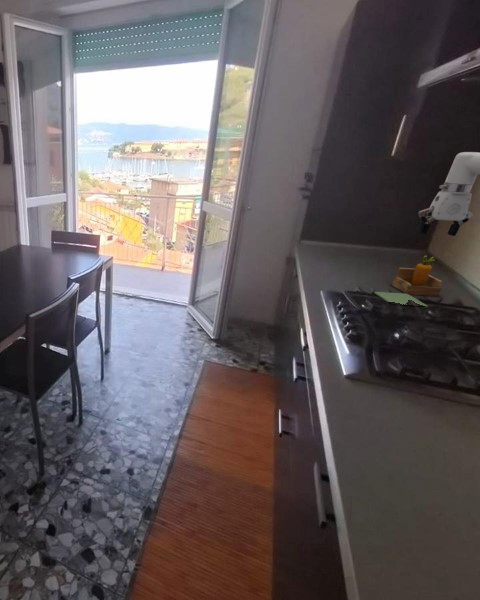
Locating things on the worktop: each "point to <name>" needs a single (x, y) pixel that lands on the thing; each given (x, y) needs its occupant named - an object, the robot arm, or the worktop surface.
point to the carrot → (422, 272)
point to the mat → (398, 298)
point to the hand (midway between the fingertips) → (436, 234)
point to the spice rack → (405, 285)
